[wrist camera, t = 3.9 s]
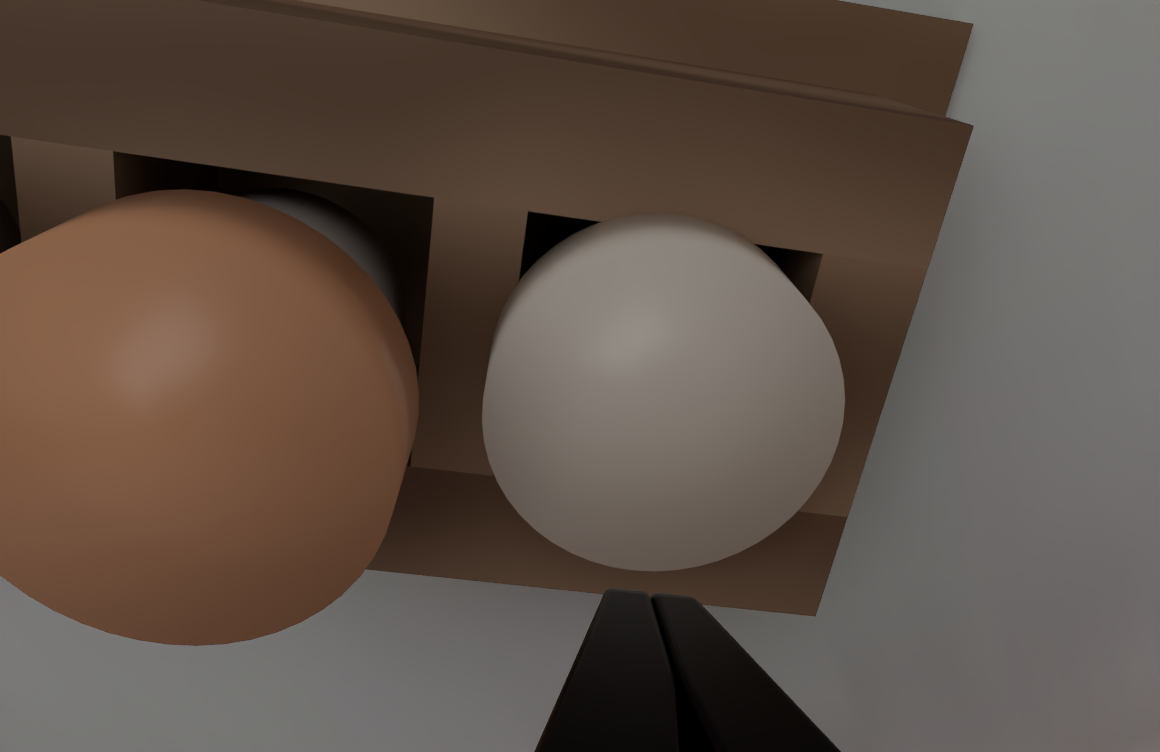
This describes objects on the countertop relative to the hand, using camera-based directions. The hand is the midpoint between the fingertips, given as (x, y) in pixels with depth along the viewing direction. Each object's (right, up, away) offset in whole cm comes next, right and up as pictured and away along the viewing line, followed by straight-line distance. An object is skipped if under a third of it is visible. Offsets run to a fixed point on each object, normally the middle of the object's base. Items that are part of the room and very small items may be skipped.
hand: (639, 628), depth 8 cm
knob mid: (-5, +4, +6) cm, 9 cm away
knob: (0, +4, +9) cm, 10 cm away
